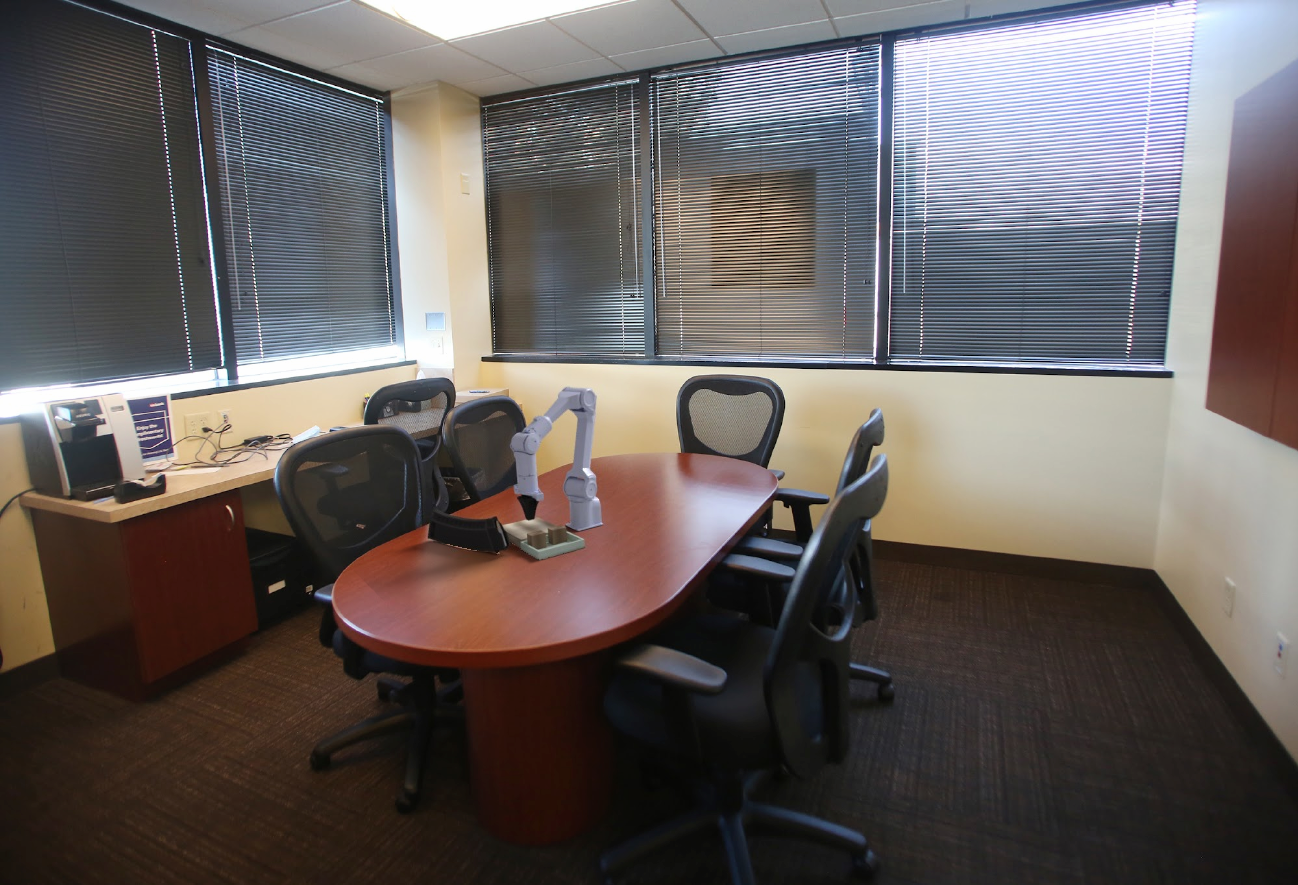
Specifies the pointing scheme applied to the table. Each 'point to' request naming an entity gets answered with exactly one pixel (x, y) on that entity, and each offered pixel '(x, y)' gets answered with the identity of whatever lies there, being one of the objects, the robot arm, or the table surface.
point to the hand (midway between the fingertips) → (530, 519)
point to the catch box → (554, 547)
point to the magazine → (468, 532)
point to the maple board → (525, 529)
